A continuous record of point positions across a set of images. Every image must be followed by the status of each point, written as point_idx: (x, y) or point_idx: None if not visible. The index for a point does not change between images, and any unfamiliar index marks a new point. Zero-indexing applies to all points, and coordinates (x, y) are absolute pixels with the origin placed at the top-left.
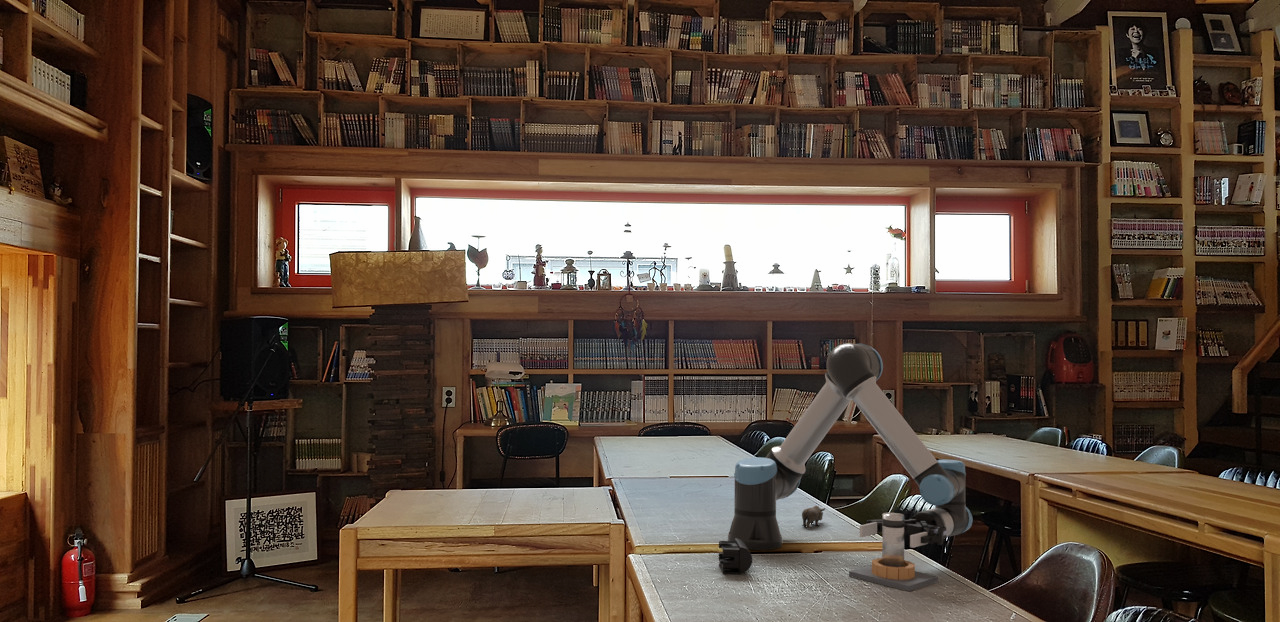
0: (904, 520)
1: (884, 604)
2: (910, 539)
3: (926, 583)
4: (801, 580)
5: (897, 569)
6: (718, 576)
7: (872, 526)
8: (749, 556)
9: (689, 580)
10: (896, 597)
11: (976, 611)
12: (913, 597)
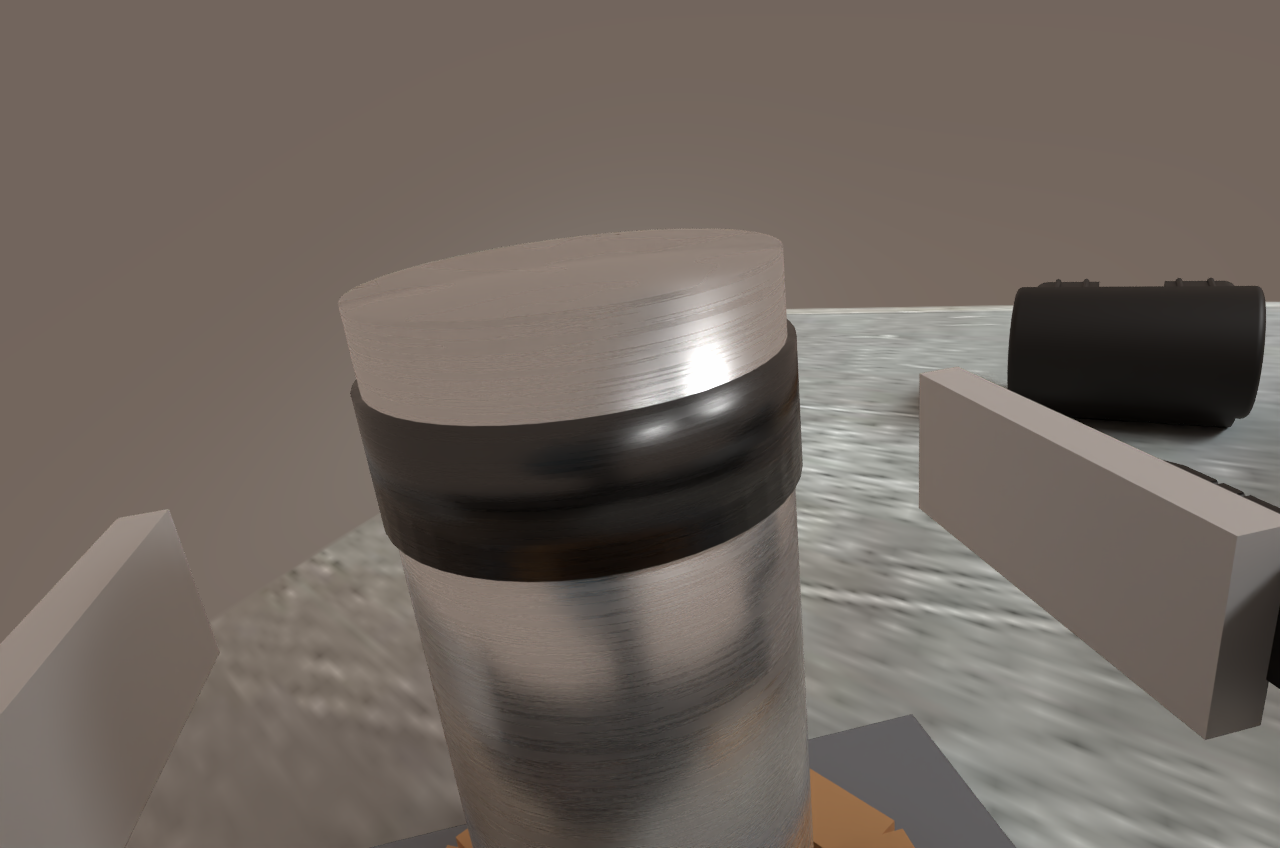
0: (361, 418)
1: (317, 624)
2: (180, 561)
3: None
4: (873, 522)
5: (461, 838)
6: (998, 379)
7: (1094, 510)
8: (1009, 341)
9: (952, 343)
10: (318, 734)
11: None
12: (210, 829)
